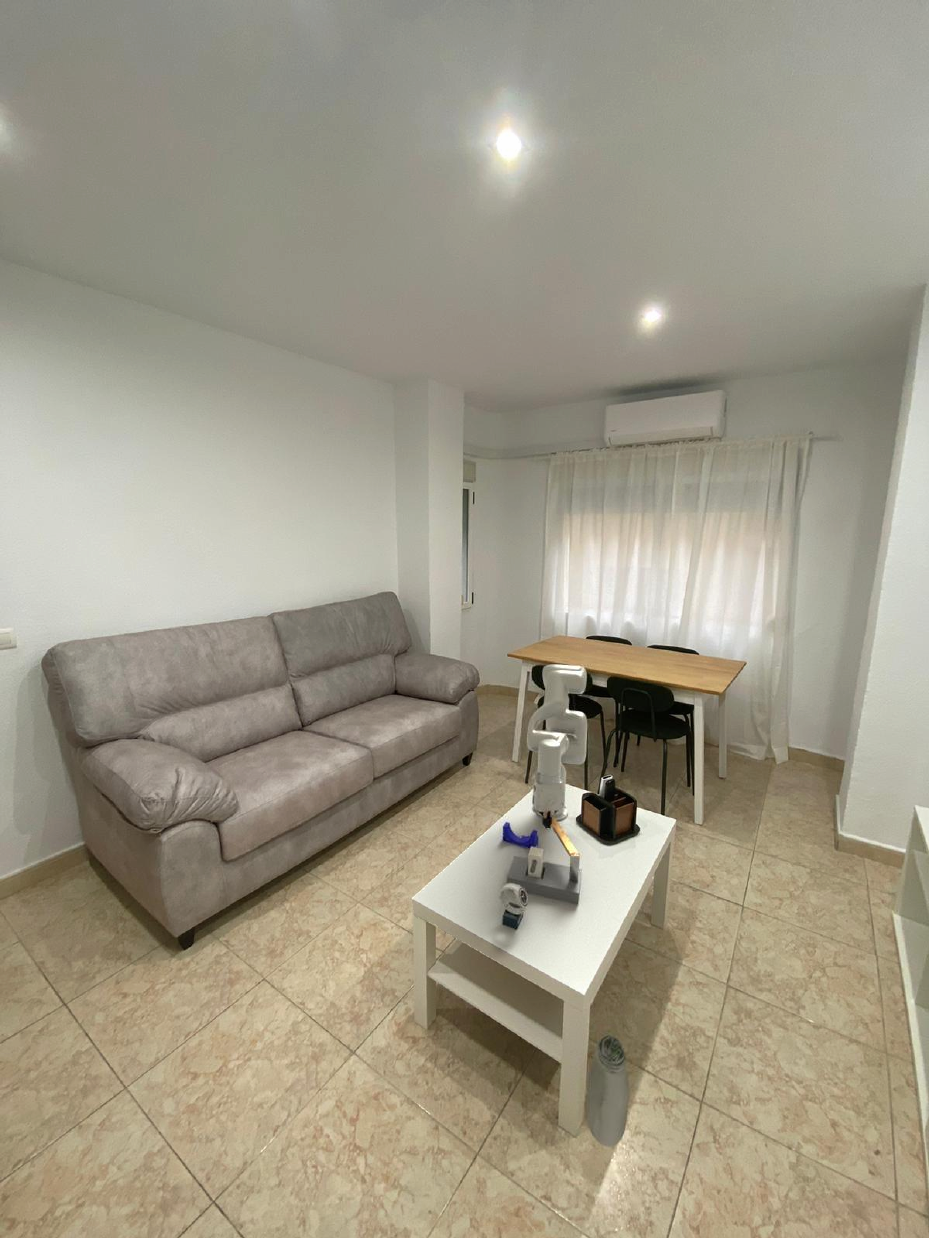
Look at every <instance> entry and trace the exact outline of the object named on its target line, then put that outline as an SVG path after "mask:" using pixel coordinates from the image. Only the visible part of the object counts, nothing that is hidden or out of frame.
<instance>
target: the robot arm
mask: <svg viewBox="0 0 929 1238" xmlns="http://www.w3.org/2000/svg"><path fill="white" fill-rule="evenodd" d="M587 675H588V673H587V669H586V668H585V667H584V666H581V665H570V664H569V665H568V664H553V663H552V664H547V665H545V666H543V668H542V680H543V681H542V682H543V685H544V686H543V687H544V688H545V690H544V691H545V692H544V698H543V704H542V706H540V707H539V708H538V709H537V710H535V712H534V713H532V716H531V717H530V720H529V722H528V728H527V735H526V745H527V749H528V750H530V751H531V752H536V753H538V754H537V757H538V758H537V770H536V773H533V778H534V784H533V790H532V798H531V799H532V800H531V802H532V807H531V811H532V812H533V813H536V814H537V815H538V816H539V817H541V824H542V826H543V827H544V828H545V830H548V829H550V830H551V829H552V827H551V824H552V819H556V820H557V821H563V820H564V819H566V818H567V817H568V816H569V809H568V807H567V806H566V805H565V803H566V784H567V770H566V768H565V766H564V764H572V765H582V764H584V763H585V761H586V757H587V740H588V739H587V737H588V735H587V734H588V720H587V715H586V714H585V713H584V712H583V711H578V710H570V708H569V706H570V705H569V704H570V697H569V694H576V695H582V694H583V693H584V692H585V691H586V687H587V678H588V677H587ZM543 721H545V728H546V730H545V729H543V730H542V729H538V728H537V727H538V726H539V724H540V723H541V722H543ZM568 736H573V737H574V738H573V737H572V738H571V737H568Z"/></svg>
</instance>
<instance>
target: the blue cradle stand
mask: <svg viewBox="0 0 929 1238" xmlns="http://www.w3.org/2000/svg"><path fill="white" fill-rule="evenodd" d="M539 838H540V837H539V835H538V830H536V829H533V830H532V831H531V833H530V834H529V835H522V836H521V837H520V836H518V835H517V834H516V833H515V832H514V831H513V830H512V828H511V823H510V822H507V821H505V823H504V824H503V825H502V841H503V842H506V843H509V844H513V845H516V846H520V847H521V848H526V849H529V850H530V848H531V847H536V848H537V846H538V844H539Z"/></svg>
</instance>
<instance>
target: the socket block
mask: <svg viewBox="0 0 929 1238" xmlns="http://www.w3.org/2000/svg"><path fill="white" fill-rule="evenodd" d="M528 859H529V857H524V856H523V857H522V856H519V855H518V856H517V855H514V856H513V858H512V861H511V864H510V867H509V870H508V873H507V876H506V884H508V883H514V884H517V885H520V886H521V887H523V888H524V889H525V890H526V892H527V895H528V894H529V895H533V896H536V897H537V896H538V897H541V898H546V899H547V898H548V899H551V900H556V901H560V902H565V903H570V904H573V905H574V904H575V905H579V902H580V894H581V884H582V871H583V870H582V868H581V869H580V868H579V879H578V881H577V882H572V881H570V879H569V873H570V866H567V865H561V864H557V863H552V862H546V861H543V871H542V879H540V878H535V877H531V876H528ZM509 890H511V889H509ZM511 891H512V890H511Z"/></svg>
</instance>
